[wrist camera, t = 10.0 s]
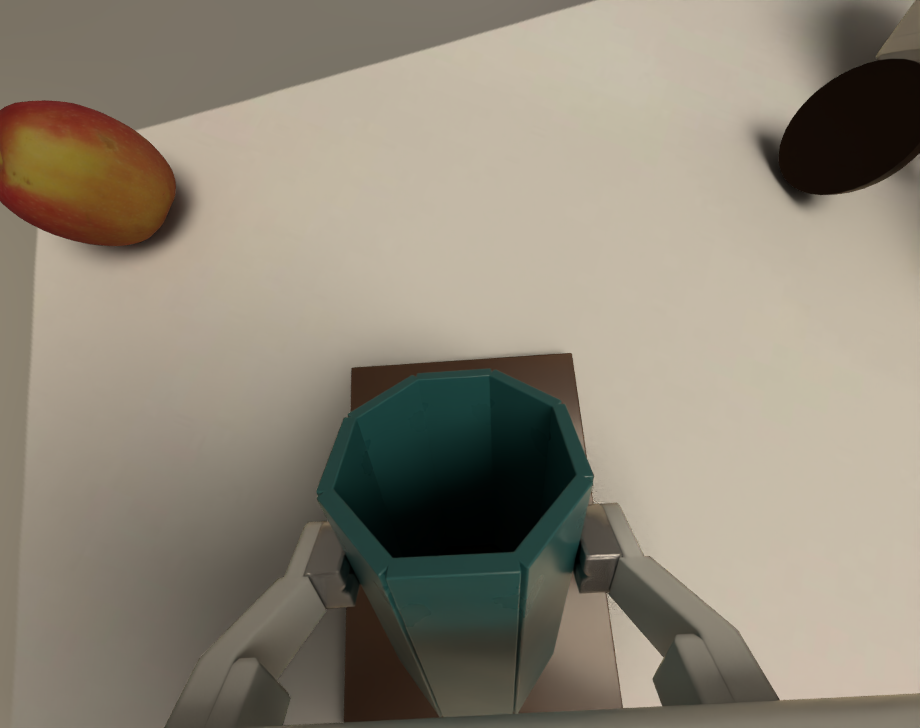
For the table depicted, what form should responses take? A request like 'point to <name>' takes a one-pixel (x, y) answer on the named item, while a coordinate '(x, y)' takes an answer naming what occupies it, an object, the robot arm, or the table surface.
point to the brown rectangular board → (584, 616)
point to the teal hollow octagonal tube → (462, 529)
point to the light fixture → (859, 121)
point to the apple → (82, 174)
